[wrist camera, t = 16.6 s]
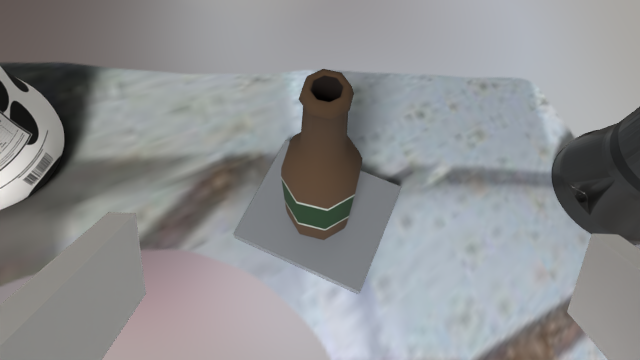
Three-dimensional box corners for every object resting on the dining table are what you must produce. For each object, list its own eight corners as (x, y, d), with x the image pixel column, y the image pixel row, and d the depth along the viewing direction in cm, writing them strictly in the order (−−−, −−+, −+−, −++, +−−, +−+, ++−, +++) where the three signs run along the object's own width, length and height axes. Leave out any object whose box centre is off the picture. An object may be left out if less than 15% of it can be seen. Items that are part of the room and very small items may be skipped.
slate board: (399, 192, 52) (401, 187, 50) (358, 294, 46) (359, 292, 45) (286, 145, 54) (285, 139, 53) (235, 238, 49) (233, 234, 47)
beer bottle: (345, 177, 51) (372, 37, 29) (356, 237, 47) (397, 130, 26) (283, 185, 50) (263, 47, 28) (290, 246, 47) (274, 144, 25)
